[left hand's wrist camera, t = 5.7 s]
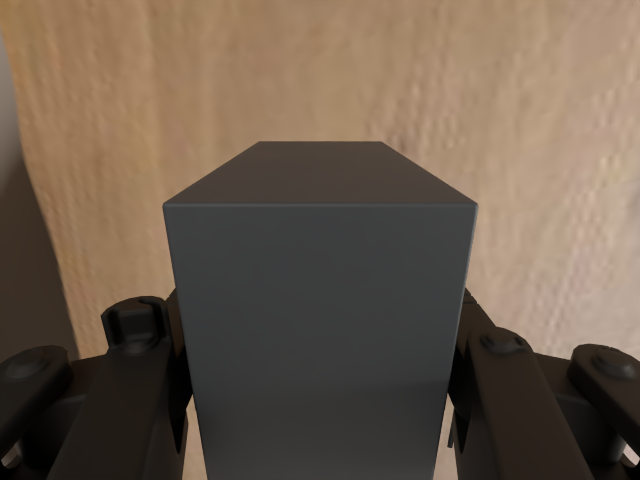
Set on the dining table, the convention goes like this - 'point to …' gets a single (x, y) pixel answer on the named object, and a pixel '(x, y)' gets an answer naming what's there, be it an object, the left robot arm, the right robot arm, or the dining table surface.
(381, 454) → the post
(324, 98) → the dining table surface
